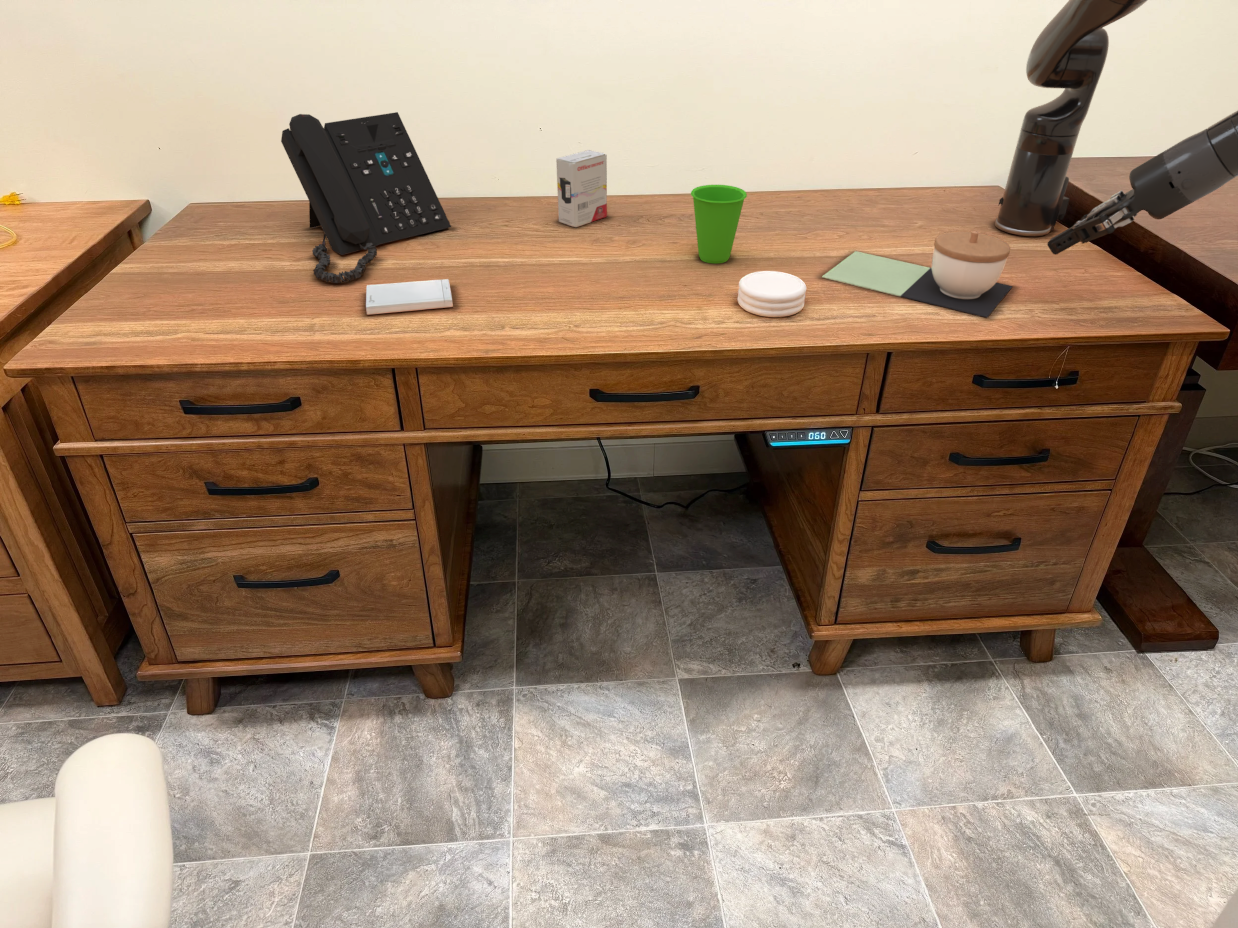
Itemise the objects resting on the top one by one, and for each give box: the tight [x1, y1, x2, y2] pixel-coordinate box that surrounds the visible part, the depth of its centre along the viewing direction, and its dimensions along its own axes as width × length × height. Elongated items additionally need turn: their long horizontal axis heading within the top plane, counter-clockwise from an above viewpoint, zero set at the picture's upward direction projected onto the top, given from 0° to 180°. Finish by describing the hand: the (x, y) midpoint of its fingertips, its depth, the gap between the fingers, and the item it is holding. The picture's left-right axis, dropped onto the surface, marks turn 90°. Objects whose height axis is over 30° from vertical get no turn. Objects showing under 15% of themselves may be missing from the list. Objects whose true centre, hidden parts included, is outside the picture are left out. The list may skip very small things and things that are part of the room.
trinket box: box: [931, 230, 1011, 299], centre depth 127 cm, size 11×11×9 cm
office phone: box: [280, 111, 452, 284], centre depth 141 cm, size 29×28×20 cm
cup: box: [690, 184, 748, 264], centre depth 138 cm, size 9×9×11 cm
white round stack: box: [736, 270, 807, 318], centre depth 125 cm, size 10×10×4 cm
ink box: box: [555, 149, 608, 228], centre depth 154 cm, size 9×5×12 cm, turn 136°
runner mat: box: [821, 250, 1013, 319], centre depth 133 cm, size 26×14×1 cm, turn 55°
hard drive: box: [365, 278, 454, 316], centre depth 126 cm, size 2×8×12 cm
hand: (1051, 248), depth 119 cm, fingers closed
